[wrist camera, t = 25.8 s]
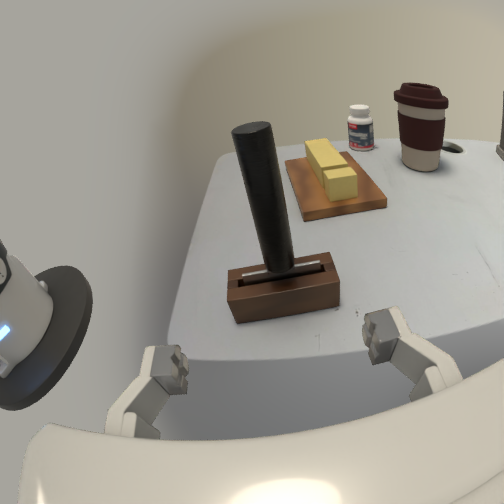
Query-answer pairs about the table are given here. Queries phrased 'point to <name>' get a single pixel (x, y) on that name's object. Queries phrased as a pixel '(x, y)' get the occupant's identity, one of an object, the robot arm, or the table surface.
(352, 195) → the butter slice
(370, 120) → the pill bottle
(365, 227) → the table surface
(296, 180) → the cutting board
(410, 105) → the coffee cup
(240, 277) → the knife holder
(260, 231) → the knife
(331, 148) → the butter block
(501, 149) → the alarm clock
